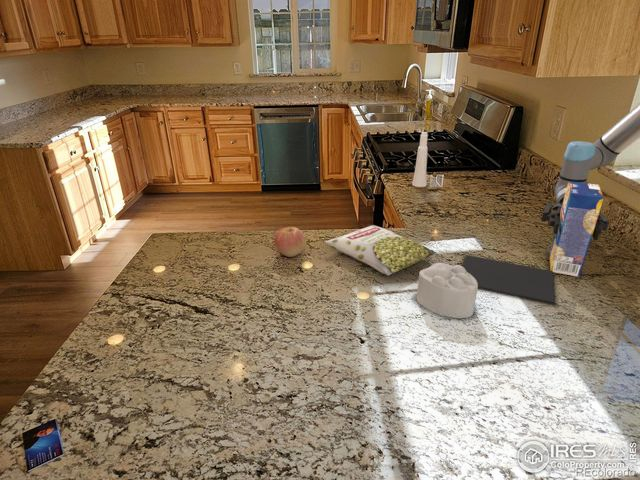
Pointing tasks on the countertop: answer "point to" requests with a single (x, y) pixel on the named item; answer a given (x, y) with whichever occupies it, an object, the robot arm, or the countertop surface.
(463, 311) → the lumpy-topped squat cylinder
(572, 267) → the beverage box
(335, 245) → the frozen beans
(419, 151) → the cosmetic bottle
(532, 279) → the mat
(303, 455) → the countertop surface
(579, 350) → the countertop surface
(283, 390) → the countertop surface
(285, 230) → the apple
